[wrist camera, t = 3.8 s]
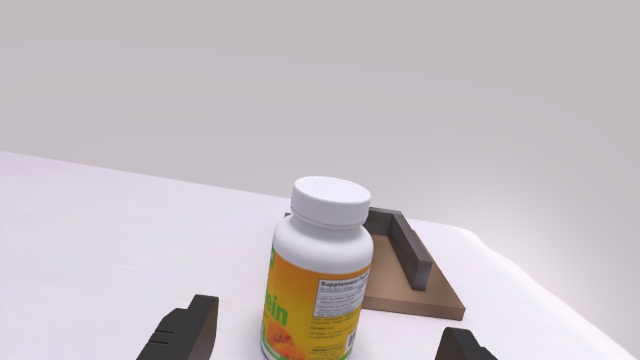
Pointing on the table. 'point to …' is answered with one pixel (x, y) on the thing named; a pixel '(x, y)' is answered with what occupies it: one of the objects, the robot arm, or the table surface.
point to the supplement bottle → (317, 272)
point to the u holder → (405, 271)
